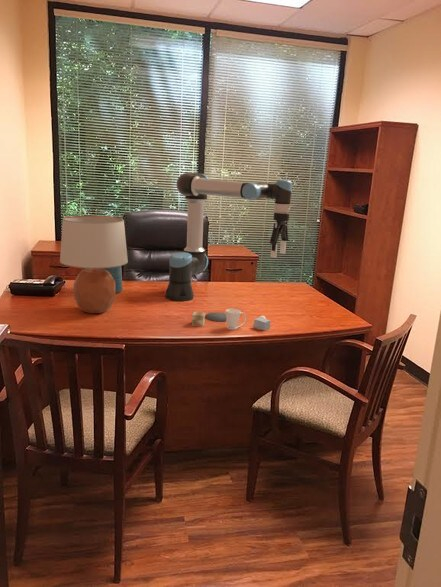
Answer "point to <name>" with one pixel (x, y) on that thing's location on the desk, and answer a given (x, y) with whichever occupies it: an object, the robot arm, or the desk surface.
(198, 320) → the birch block
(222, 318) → the coaster
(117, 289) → the vase
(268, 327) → the greyblue block
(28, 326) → the desk surface
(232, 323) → the cup
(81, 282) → the lamp
